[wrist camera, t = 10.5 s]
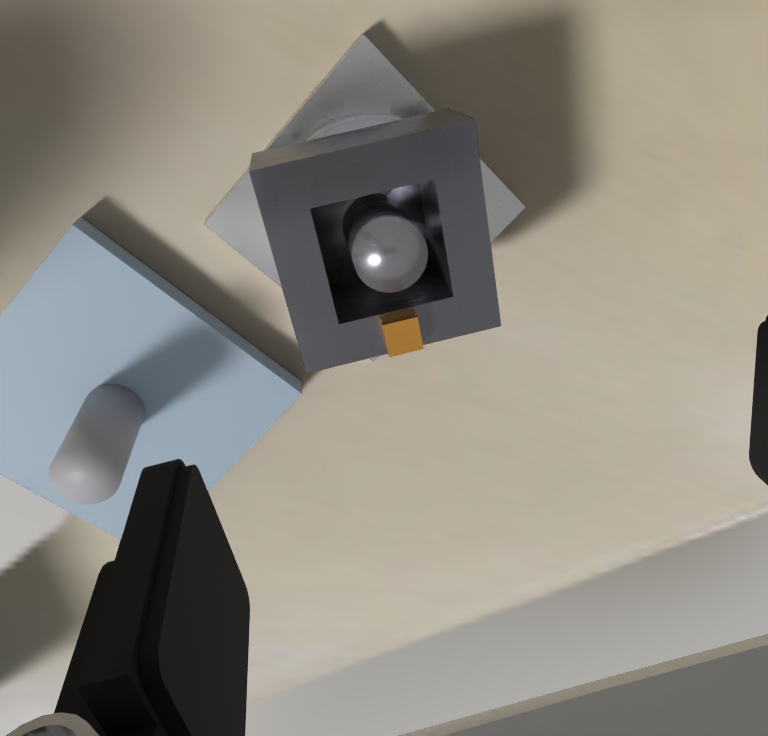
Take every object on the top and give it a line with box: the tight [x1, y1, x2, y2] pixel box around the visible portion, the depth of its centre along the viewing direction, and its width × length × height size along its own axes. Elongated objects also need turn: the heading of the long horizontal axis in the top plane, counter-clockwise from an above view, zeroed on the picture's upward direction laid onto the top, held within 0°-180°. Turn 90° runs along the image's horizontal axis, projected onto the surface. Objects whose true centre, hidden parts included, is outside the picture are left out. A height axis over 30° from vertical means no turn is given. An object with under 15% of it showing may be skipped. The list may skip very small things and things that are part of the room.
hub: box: [203, 34, 525, 362], centre depth 24 cm, size 9×9×6 cm
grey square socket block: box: [249, 108, 501, 373], centre depth 23 cm, size 7×7×4 cm
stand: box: [0, 217, 302, 540], centre depth 26 cm, size 11×11×6 cm
